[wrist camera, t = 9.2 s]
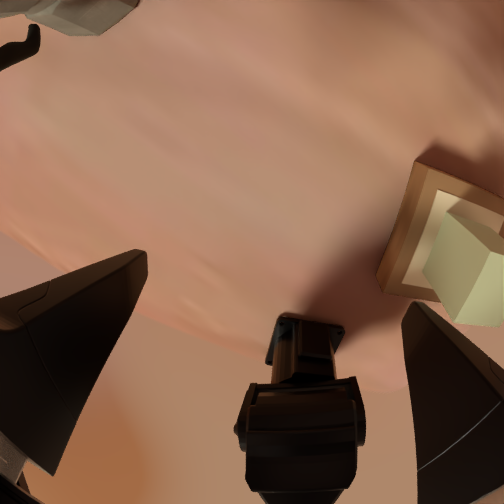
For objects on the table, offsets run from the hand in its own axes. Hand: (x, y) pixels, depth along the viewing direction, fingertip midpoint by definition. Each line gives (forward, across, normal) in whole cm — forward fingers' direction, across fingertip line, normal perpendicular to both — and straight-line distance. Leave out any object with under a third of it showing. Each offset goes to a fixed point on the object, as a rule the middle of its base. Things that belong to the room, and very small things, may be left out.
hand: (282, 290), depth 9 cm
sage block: (+10, -14, +1) cm, 17 cm away
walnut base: (+13, -14, +1) cm, 19 cm away
